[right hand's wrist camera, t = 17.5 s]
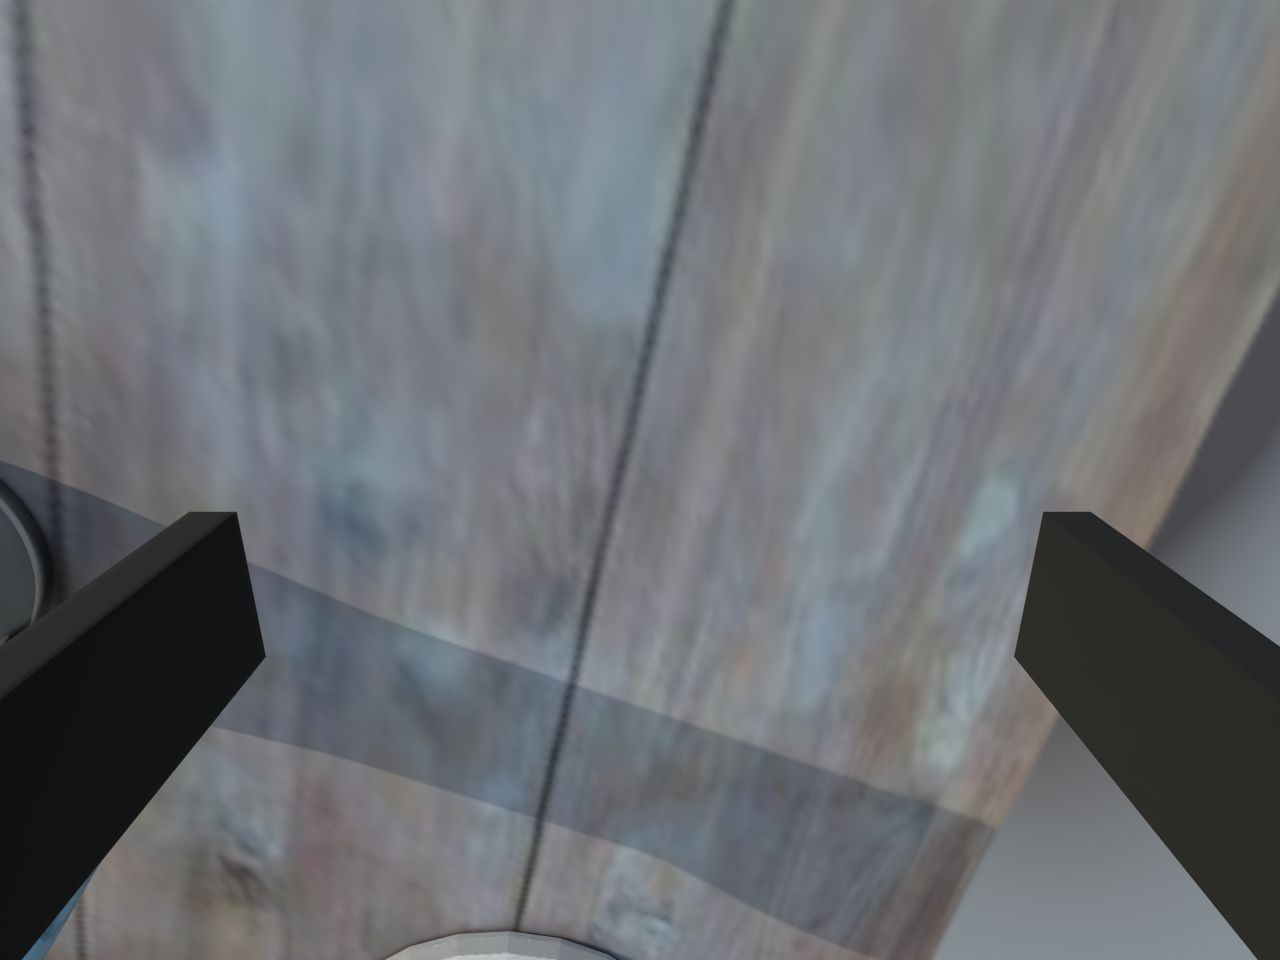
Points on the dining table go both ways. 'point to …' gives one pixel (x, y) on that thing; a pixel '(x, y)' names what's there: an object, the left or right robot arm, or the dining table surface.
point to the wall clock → (499, 948)
